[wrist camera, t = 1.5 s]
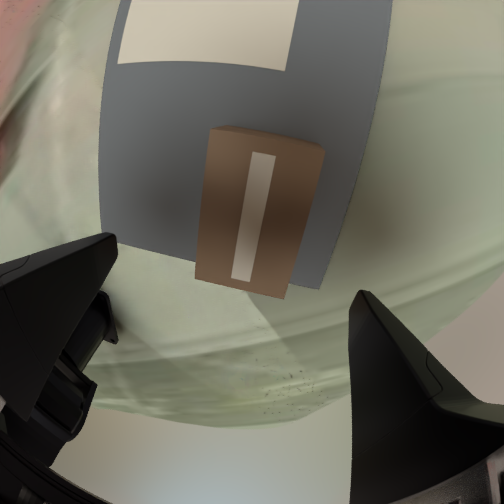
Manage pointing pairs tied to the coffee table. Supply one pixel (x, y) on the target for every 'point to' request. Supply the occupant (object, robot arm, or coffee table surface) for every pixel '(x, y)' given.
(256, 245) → the brown cardboard box
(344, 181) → the rubber mat
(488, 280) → the coffee table surface
